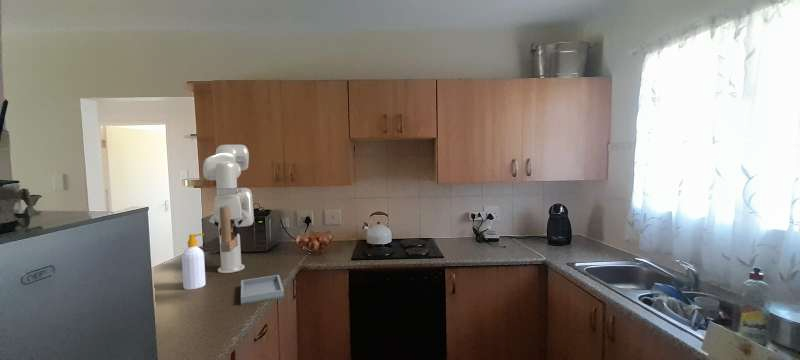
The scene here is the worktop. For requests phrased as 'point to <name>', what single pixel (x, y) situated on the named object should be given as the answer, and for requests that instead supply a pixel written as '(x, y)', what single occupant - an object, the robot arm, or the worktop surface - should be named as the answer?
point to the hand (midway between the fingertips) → (229, 236)
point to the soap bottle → (193, 265)
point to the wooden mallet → (227, 230)
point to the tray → (261, 289)
